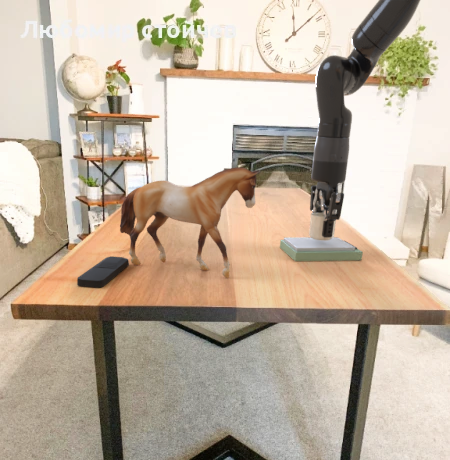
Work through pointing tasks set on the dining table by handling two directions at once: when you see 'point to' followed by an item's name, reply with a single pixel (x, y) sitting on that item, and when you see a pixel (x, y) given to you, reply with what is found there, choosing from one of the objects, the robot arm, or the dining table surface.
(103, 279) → the remote control
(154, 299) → the dining table surface
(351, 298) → the dining table surface
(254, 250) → the dining table surface
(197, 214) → the horse figurine
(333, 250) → the scale
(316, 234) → the white ceramic cup
